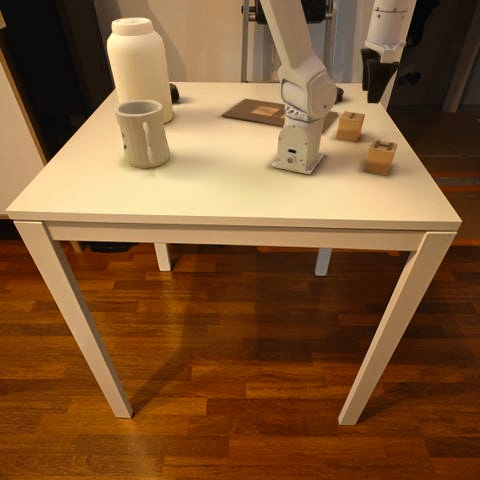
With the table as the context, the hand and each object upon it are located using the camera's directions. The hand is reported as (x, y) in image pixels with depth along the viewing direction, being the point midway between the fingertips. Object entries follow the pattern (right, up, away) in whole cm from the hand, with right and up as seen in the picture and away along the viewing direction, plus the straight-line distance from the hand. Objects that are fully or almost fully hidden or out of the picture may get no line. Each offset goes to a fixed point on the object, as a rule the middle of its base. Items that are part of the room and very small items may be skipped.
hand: (370, 96), depth 71 cm
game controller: (-2, +15, +29) cm, 33 cm away
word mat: (-16, +6, +20) cm, 26 cm away
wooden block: (+1, -15, -1) cm, 15 cm away
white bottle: (-49, +5, +19) cm, 53 cm away
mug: (-44, -13, +2) cm, 46 cm away
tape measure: (-46, +14, +28) cm, 55 cm away
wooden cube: (-1, -4, +10) cm, 11 cm away
